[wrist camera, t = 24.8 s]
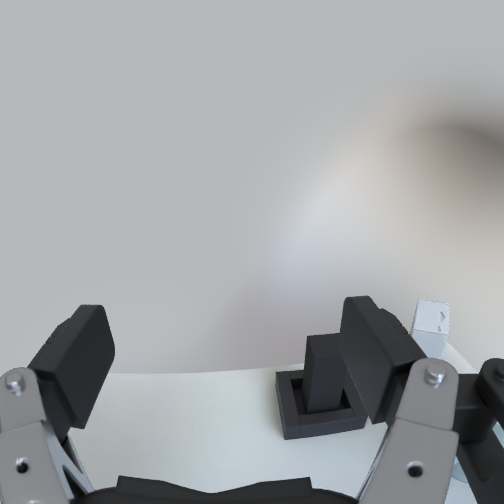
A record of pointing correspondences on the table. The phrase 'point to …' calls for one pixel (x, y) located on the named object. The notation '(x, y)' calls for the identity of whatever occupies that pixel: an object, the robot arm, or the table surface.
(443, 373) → the robot arm
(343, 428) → the base pad
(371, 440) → the table surface
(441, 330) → the ink box
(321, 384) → the block
